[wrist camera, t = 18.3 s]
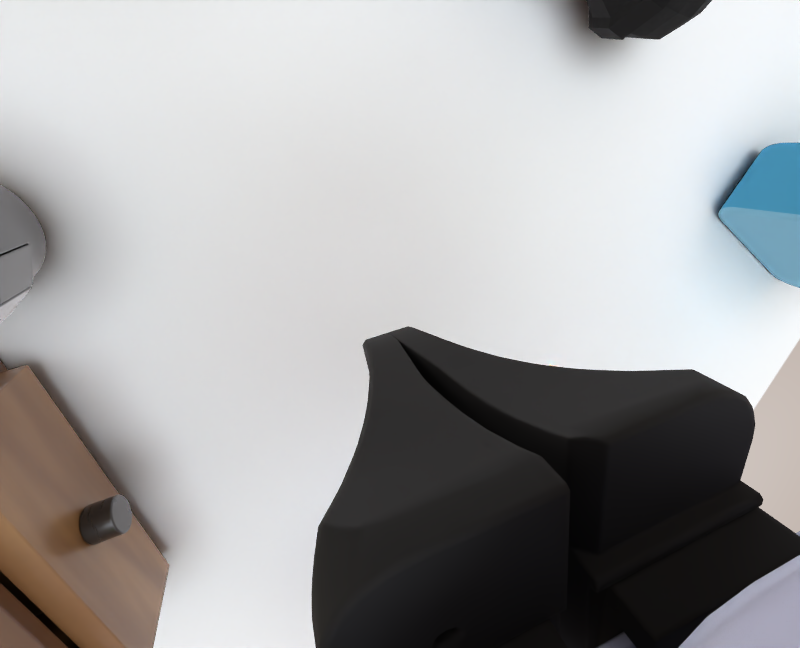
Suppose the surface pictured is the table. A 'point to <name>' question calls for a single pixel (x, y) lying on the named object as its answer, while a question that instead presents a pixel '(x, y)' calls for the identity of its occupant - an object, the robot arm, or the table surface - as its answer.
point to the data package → (769, 211)
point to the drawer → (70, 530)
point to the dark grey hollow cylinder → (18, 250)
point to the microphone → (641, 17)
